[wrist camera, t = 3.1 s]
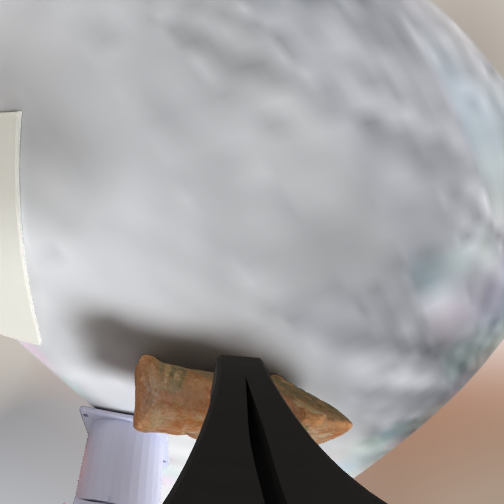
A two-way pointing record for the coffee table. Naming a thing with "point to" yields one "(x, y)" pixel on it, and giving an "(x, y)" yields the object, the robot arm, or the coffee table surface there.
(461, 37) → the coffee table surface
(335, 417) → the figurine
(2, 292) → the felt mat
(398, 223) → the coffee table surface
